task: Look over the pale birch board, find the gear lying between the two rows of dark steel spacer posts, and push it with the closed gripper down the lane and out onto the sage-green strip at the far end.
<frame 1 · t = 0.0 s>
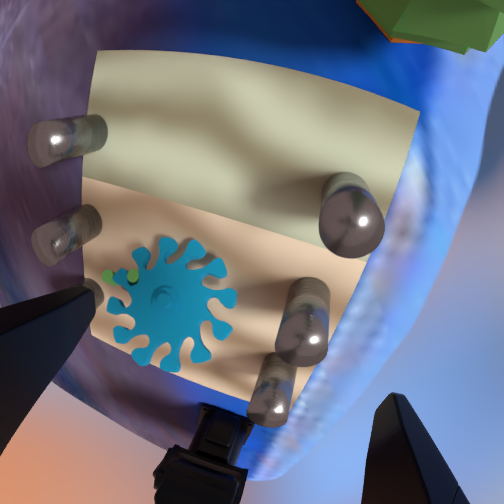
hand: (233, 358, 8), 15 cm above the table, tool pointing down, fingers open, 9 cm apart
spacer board: (199, 256, 24), on the table
decorative tree: (396, 6, 13), on the table
gear: (184, 274, 25), resting on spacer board
spacer posts: (187, 252, 25), resting on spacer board
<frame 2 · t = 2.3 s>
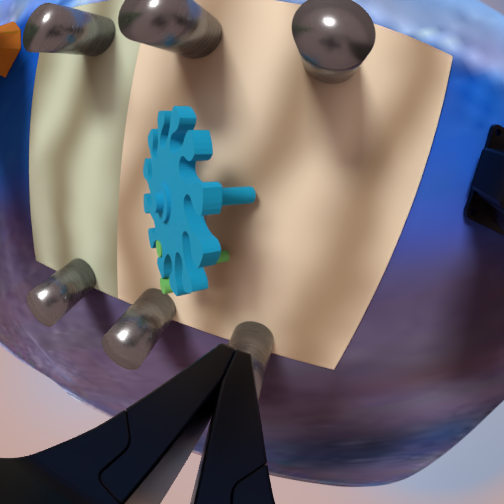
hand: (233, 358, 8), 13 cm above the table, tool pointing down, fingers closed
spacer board: (173, 169, 20), on the table
decorative tree: (7, 53, 18), on the table
gear: (199, 192, 20), resting on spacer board
spacer posts: (171, 183, 20), resting on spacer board
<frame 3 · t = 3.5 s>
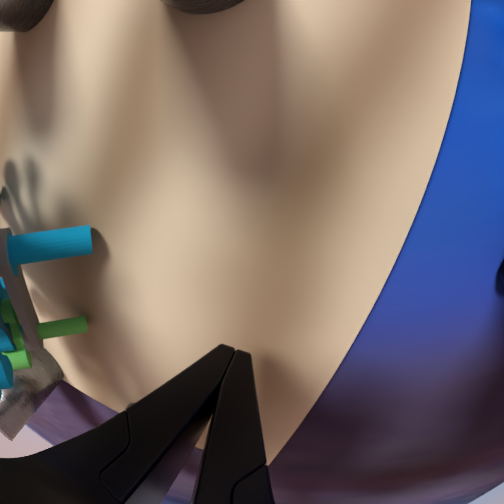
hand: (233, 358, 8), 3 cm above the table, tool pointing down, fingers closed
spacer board: (18, 194, 11), on the table
gear: (43, 228, 11), resting on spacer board
spacer posts: (20, 214, 11), resting on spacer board
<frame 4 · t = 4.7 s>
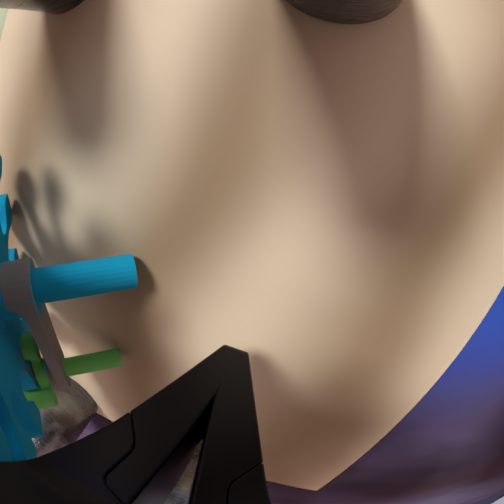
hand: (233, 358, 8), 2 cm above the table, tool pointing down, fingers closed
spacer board: (48, 216, 10), on the table
gear: (67, 251, 10), resting on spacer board, touching gripper
spacer posts: (50, 239, 10), resting on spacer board
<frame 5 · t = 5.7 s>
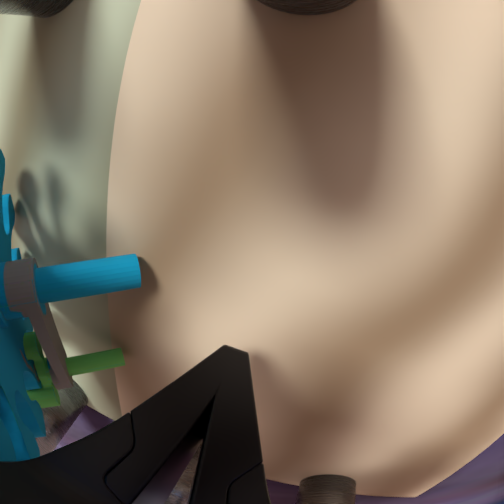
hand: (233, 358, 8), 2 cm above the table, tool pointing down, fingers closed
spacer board: (225, 280, 9), on the table
gear: (70, 251, 10), resting on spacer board, touching gripper
spacer posts: (219, 306, 10), resting on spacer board
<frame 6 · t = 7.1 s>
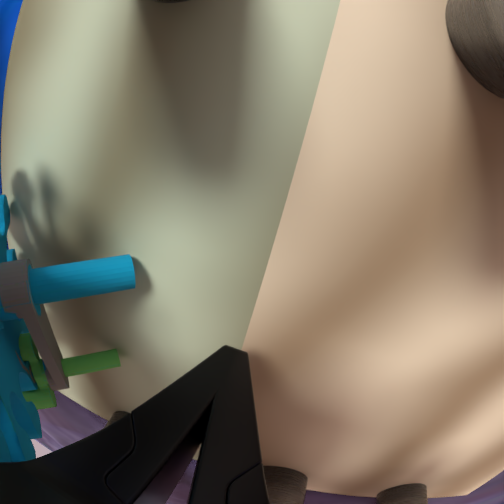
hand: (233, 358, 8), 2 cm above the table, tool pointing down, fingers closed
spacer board: (384, 333, 9), on the table
gear: (65, 252, 10), resting on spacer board, touching gripper
spacer posts: (370, 356, 9), resting on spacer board
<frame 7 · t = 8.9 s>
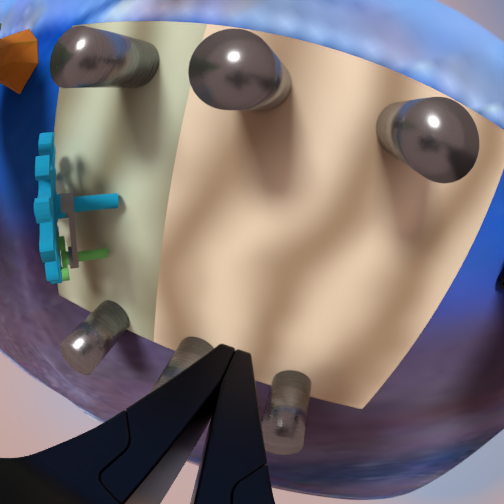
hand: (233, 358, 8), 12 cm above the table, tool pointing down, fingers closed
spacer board: (226, 228, 19), on the table
decorative tree: (21, 66, 17), on the table
gear: (86, 197, 21), resting on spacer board
spacer posts: (223, 242, 20), resting on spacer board
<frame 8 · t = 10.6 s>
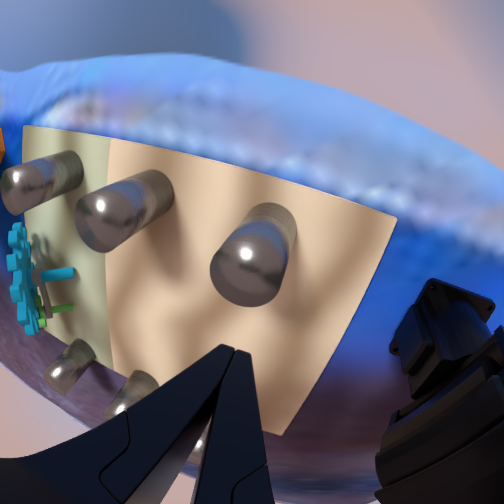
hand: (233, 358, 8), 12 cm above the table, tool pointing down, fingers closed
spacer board: (147, 297, 24), on the table
gear: (53, 264, 26), resting on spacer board
spacer posts: (147, 306, 25), resting on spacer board
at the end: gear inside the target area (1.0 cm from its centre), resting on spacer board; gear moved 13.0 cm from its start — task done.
